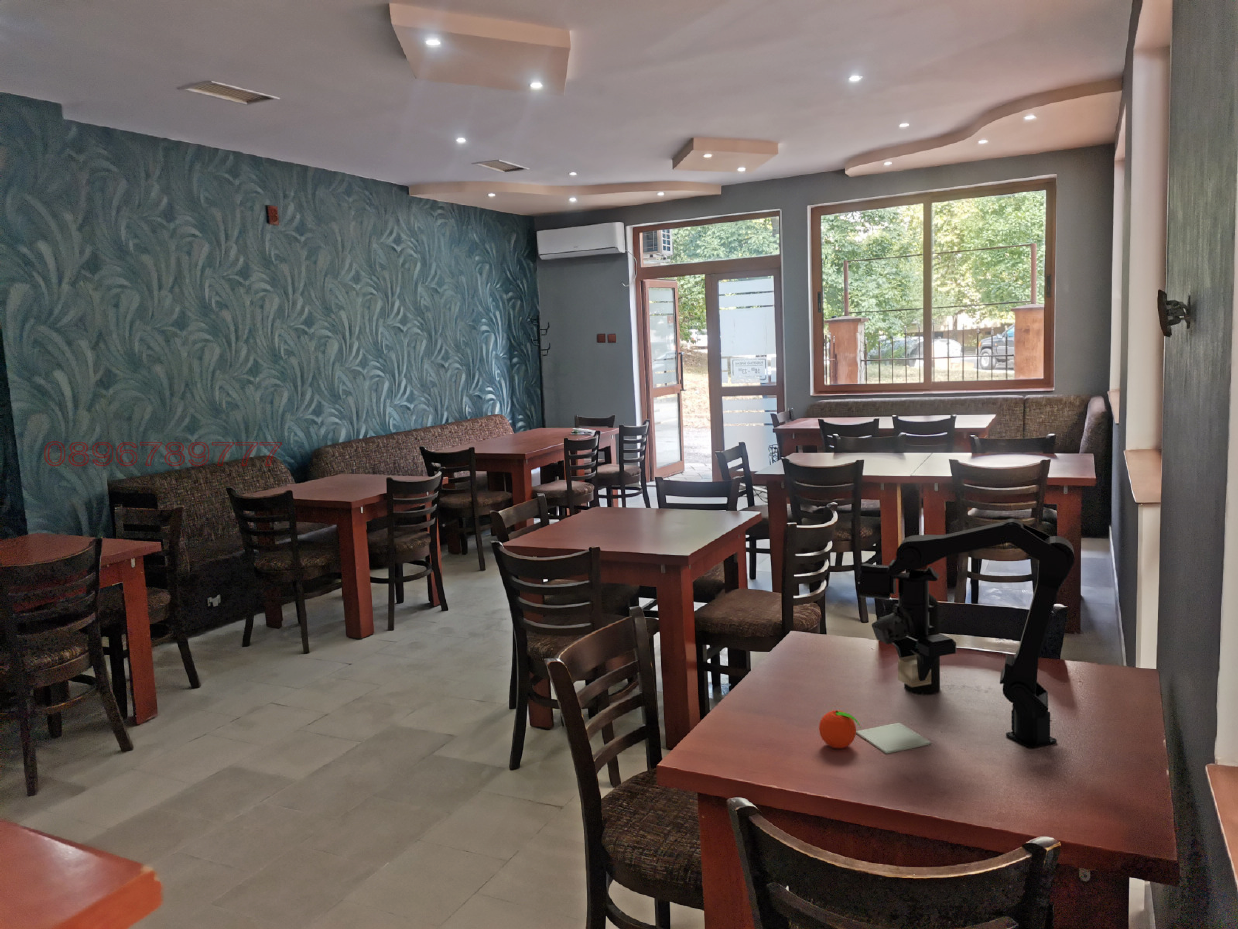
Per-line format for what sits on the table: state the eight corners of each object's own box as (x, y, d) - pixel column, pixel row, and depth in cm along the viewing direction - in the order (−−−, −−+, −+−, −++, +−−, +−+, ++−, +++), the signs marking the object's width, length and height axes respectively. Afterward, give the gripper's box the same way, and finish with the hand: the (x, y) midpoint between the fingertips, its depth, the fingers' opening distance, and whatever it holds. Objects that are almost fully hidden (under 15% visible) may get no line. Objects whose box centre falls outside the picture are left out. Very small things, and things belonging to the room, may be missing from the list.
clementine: (866, 743, 169) (865, 708, 168) (856, 758, 163) (855, 721, 162) (825, 736, 173) (824, 701, 172) (814, 750, 167) (813, 714, 166)
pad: (931, 744, 167) (931, 742, 167) (886, 753, 164) (886, 751, 164) (899, 724, 177) (899, 722, 176) (856, 733, 174) (855, 731, 173)
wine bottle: (942, 695, 190) (941, 560, 187) (906, 694, 192) (904, 560, 188) (937, 682, 198) (936, 552, 194) (902, 681, 199) (900, 552, 196)
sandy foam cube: (931, 683, 173) (930, 661, 173) (911, 687, 172) (911, 665, 172) (917, 676, 178) (916, 654, 177) (898, 679, 176) (897, 658, 176)
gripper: (851, 594, 180) (853, 667, 181) (907, 618, 162) (908, 699, 164) (898, 587, 183) (899, 660, 185) (958, 610, 165) (958, 690, 167)
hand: (914, 676), depth 175 cm, fingers closed on sandy foam cube, 4 cm apart
